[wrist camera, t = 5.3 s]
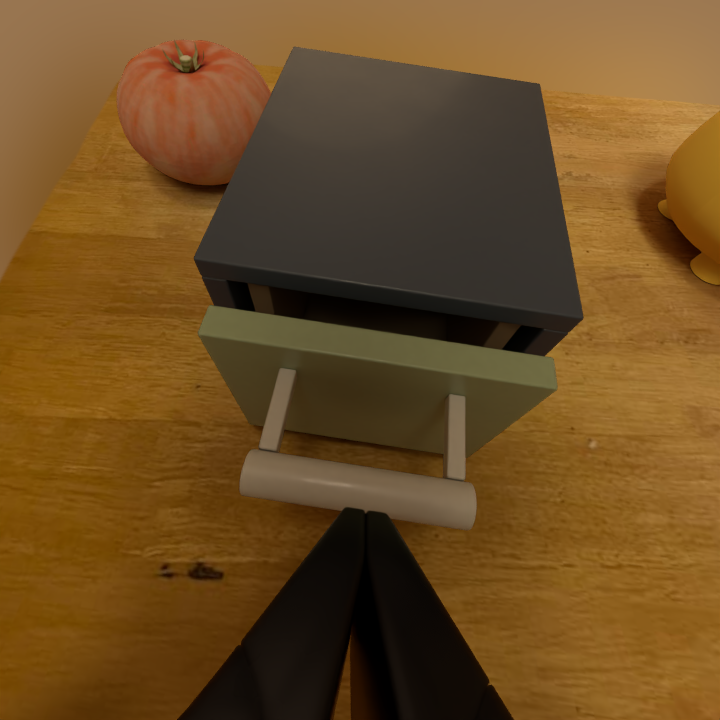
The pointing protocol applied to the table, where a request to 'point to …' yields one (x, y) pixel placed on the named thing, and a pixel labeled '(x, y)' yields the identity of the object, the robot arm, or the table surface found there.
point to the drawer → (370, 396)
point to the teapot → (697, 196)
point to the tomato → (191, 108)
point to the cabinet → (400, 197)
